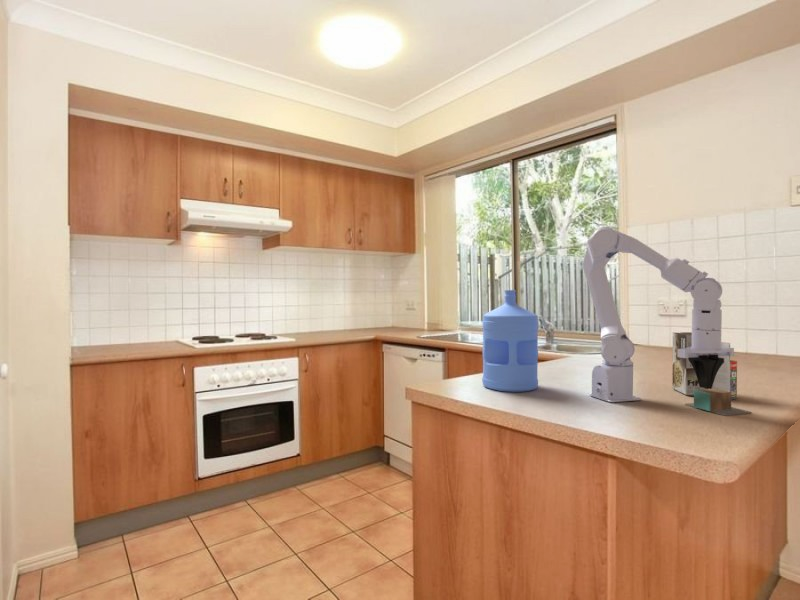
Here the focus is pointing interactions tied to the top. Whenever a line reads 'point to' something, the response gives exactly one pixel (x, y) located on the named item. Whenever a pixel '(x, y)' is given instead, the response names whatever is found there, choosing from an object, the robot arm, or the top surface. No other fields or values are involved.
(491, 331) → the water jug
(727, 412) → the rubber mat
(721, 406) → the walnut block
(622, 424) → the top surface
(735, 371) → the ink box
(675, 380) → the coffee box
